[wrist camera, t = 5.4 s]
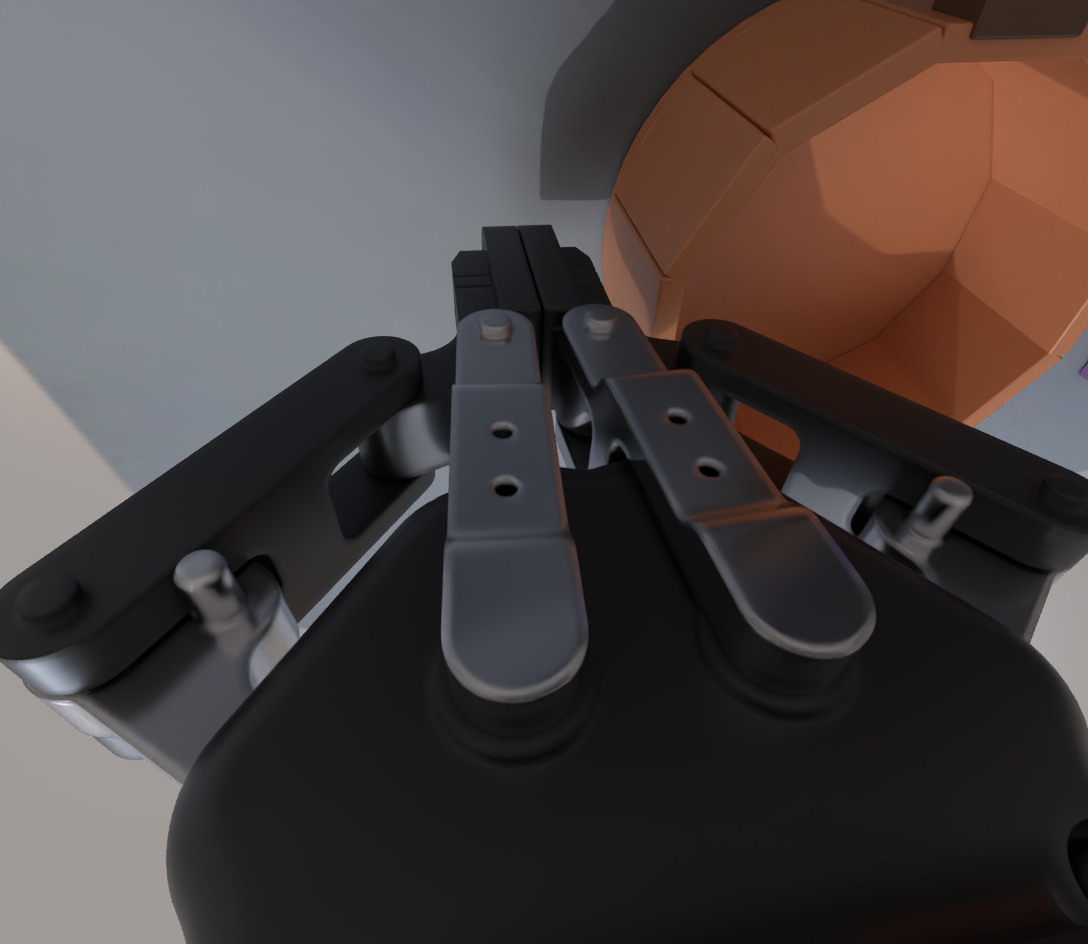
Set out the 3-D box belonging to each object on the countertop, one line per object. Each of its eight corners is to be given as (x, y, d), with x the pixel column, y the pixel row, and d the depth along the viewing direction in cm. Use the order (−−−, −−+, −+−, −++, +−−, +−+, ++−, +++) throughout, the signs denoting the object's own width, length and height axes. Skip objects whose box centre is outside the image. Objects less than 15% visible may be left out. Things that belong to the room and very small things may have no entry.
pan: (687, -829, 7) (948, -1477, 3) (1451, -720, 8) (2194, -1128, 4) (589, 398, 19) (626, 511, 15) (891, 371, 20) (984, 472, 16)
